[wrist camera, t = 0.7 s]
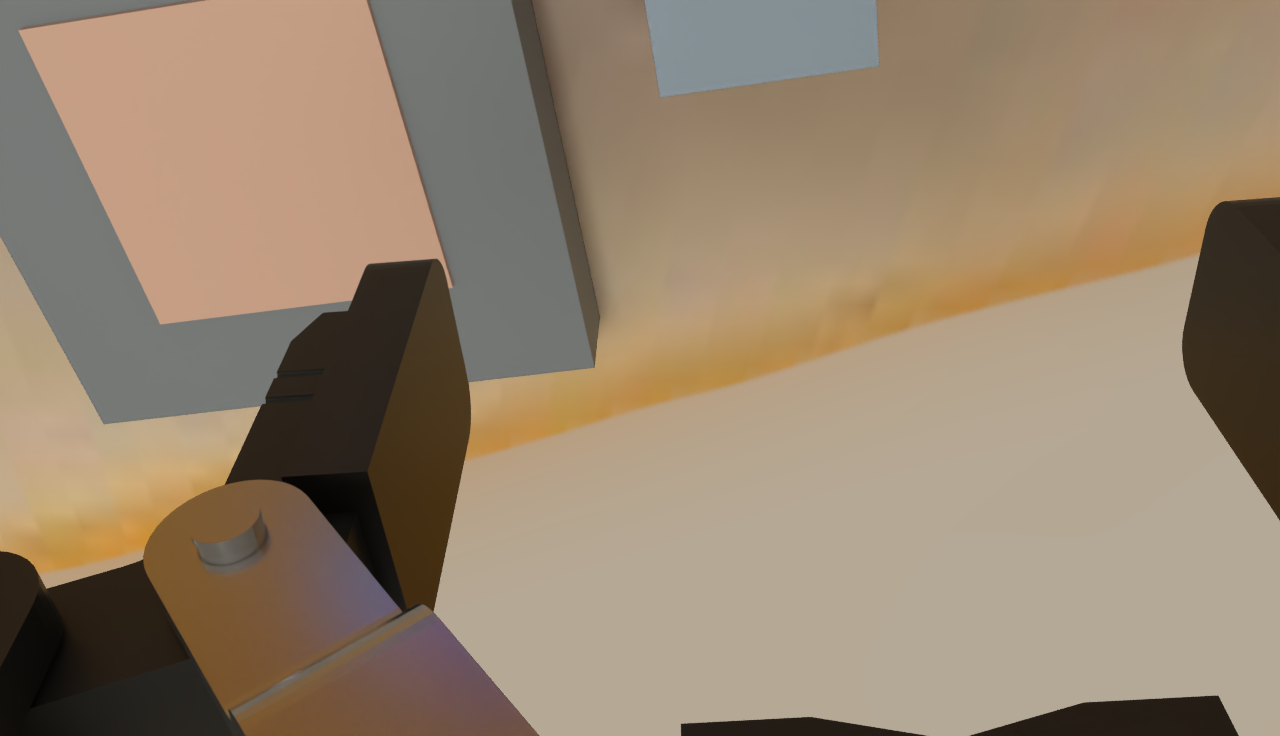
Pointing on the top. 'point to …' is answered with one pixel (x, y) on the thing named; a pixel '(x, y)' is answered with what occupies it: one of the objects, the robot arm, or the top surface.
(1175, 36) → the top surface
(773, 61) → the slate block
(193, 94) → the base plinth
